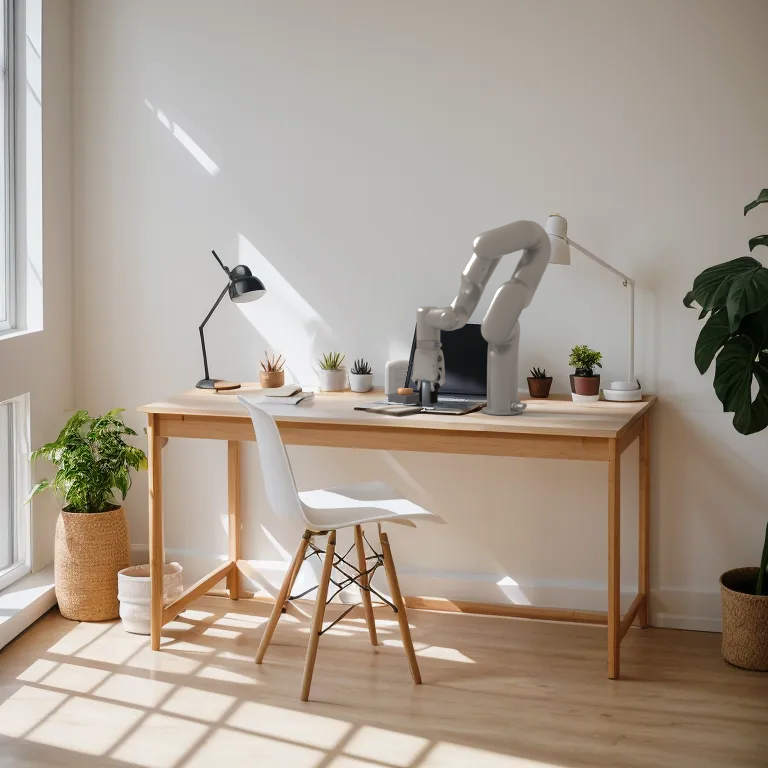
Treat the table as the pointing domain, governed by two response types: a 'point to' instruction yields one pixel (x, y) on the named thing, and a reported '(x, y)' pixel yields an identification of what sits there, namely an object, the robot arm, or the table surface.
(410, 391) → the button
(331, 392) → the table surface
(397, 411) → the board
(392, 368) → the photo printer
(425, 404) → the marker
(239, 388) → the table surface
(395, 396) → the button housing
